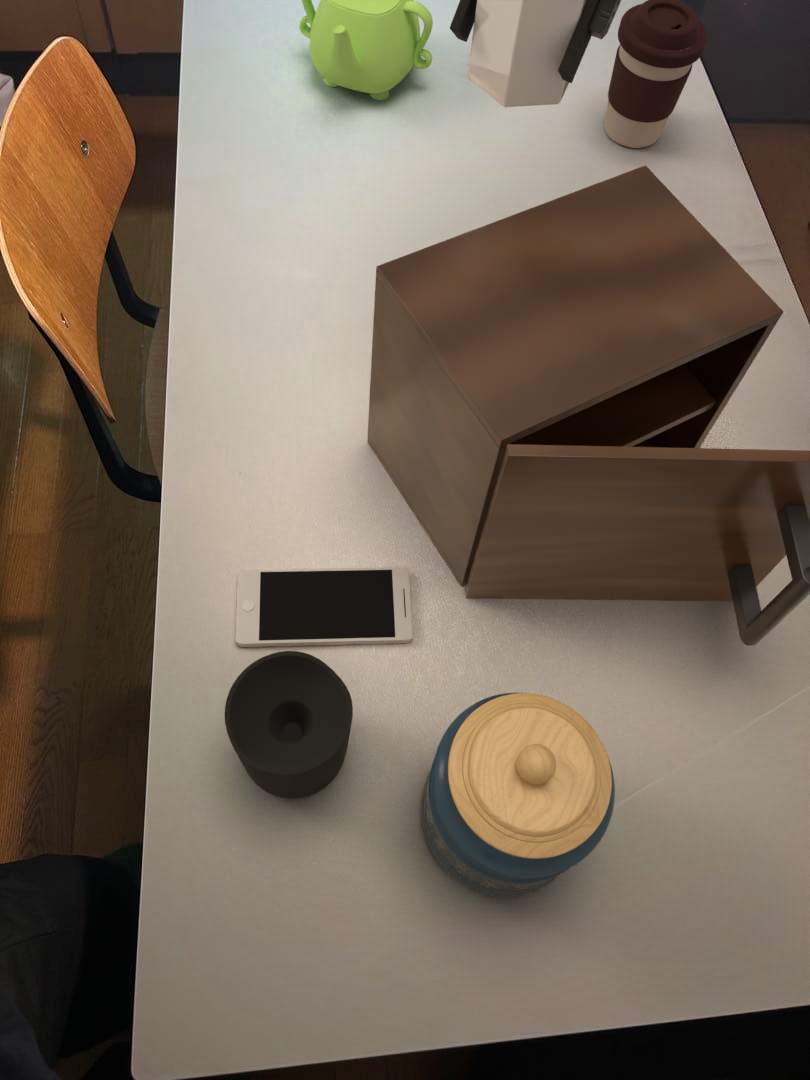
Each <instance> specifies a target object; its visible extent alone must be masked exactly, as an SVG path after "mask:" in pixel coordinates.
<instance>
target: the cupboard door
mask: <svg viewBox="0 0 810 1080" xmlns="http://www.w3.org/2000/svg"><path fill="white" fill-rule="evenodd" d="M785 557H786V559H787V563H788V568H789V572H790V576H791V581H789V583H787V585H786V586H785V587H784V588H782V589H781V590H780V592H778V593H777V595H775V596H774V597H773V599H772V600H770V602H769V603H768V604H767V605H766V606H764V607H763V608H761V607H762V606H761V603H760V599H759V594H758V589H757V587H758V586H759V585H760V584H761V583H762V582H763V581H764V580H765V578H766V577H767V576H768V575H769V574H770V573H771V572H772V571H773V570H774V569H775V568H776V567H777V566H778V565H779V564H780V562H781V561H782V560H783V559H784V558H785ZM464 590H465V599H515V600H516V599H519V600H520V599H523V600H524V599H525V600H526V599H527V600H538V599H539V600H611V601H612V600H620V601H622V600H623V601H625V600H626V601H629V600H630V601H710V602H711V601H718V602H719V601H721V602H722V601H724V602H726V601H727V602H732V604H733V610H734V614H735V619H736V625H737V630H738V634H739V635H738V636H739V638H740V641H741V643H743V644H744V645H746V646H749V647H754V646H757V644H758V643H759V642H761V641H762V640H763V639H764V638H765V637H766V636H767V635H768V634H769V633H770V632H771V631H773V629H775V627H777V626H778V625H779V624H780V623H781V622H782V621H783V620H784V619H785V618H786V617H787V616H788V615H789V614H791V612H793V611H794V610H796V608H798V606H799V605H800V604H801V603H802V602H804V600H806V598H808V597H809V596H810V450H807V449H805V450H803V449H800V450H799V449H757V448H755V449H754V448H712V447H710V448H709V447H700V448H666V447H619V446H572V445H525V444H507V446H506V449H505V453H504V456H503V460H502V463H501V467H500V470H499V474H498V477H497V481H496V484H495V488H494V491H493V494H492V498H491V501H490V505H489V508H488V512H487V515H486V519H485V522H484V526H483V529H482V533H481V536H480V540H479V543H478V547H477V550H476V553H475V557H474V560H473V564H472V567H471V571H470V574H469V578H468V581H467V584H466V585H465V589H464Z"/></svg>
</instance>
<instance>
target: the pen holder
mask: <svg viewBox="0 0 810 1080" xmlns="http://www.w3.org/2000/svg"><path fill="white" fill-rule="evenodd" d="M353 709H354V706H353V700H352V697H351V693H350V691H349V689H348V687H347V685H346V684H345V682H344V681H343V679H342V678H341V677H340V676H339V675H338V673H337V672H335V671H334V670H333V669H332V668H331V667H330V666H329V665H328V664H326V663H325V662H324V661H323V660H321V659H320V658H318V657H316V656H314V655H313V654H310V653H307V652H302V651H297V650H284V651H277V652H273V653H270V654H267V655H265V656H262V657H260V658H258V659H257V660H254V661H253V662H252V663H250V664H249V665H248V666H247V667H245V669H244V670H243V671H241V672H240V674H239V675H238V676H237V677H236V679H235V681H233V683H232V686H231V687H230V689H229V691H228V694H227V697H226V701H225V705H224V724H225V725H224V726H225V730H226V733H227V735H228V739H229V741H230V743H231V745H232V747H233V749H234V751H235V754H236V755H237V757H238V759H239V761H240V762H241V764H242V766H243V768H244V769H245V771H246V773H247V774H248V776H249V777H250V778H251V780H252V781H253V782H254V783H255V784H256V785H257V786H258V787H259V788H260V789H261V790H263V791H265V793H268V794H270V795H273V796H275V797H279V798H284V799H299V798H300V799H301V798H305V797H309V796H311V795H314V794H316V793H318V792H320V791H322V790H323V789H324V788H326V787H327V786H328V785H329V784H330V783H332V781H333V780H334V779H335V778H336V776H337V775H338V774H339V772H340V770H341V769H342V767H343V764H344V762H345V758H346V754H347V751H348V747H349V741H350V735H351V729H352V723H353V714H354V710H353Z"/></svg>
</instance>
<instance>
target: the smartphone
mask: <svg viewBox="0 0 810 1080" xmlns="http://www.w3.org/2000/svg"><path fill="white" fill-rule="evenodd" d="M410 583H411V582H410V570H409V568H407V567H404V566H393V567H392V566H391V567H390V566H389V567H337V568H335V567H334V568H333V567H331V568H330V567H329V568H328V567H327V568H282V569H281V568H279V569H278V568H277V569H273V568H272V569H242V570H239V571H238V572H237V584H236V585H237V587H236V614H235V615H236V616H235V644H236V646H238V647H240V648H260V647H263V648H264V647H265V648H266V647H302V646H340V645H341V646H342V645H343V646H344V645H345V646H346V645H347V646H348V645H386V644H408V643H411V642H412V641H413V637H414V635H413V634H414V633H413V615H412V601H411V600H412V599H411V584H410Z"/></svg>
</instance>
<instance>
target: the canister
mask: <svg viewBox="0 0 810 1080" xmlns="http://www.w3.org/2000/svg"><path fill="white" fill-rule="evenodd" d="M615 786H616V785H615V777H614V771H613V768H612V764H611V761H610V758H609V755H608V753H607V750H606V748H605V746H604V743H603V742H602V740H601V738H600V736H599V735H598V733H597V731H595V728H593V726H592V725H591V724H590V723H589V722H588V721H587V719H585V718H584V717H583V716H582V715H581V714H580V713H579V712H578V711H576V710H575V709H574V708H572V707H571V706H569V705H568V704H566V703H564V702H562V701H559V700H557V699H555V698H553V697H549V696H547V695H543V694H537V693H529V692H506V693H500V694H499V693H498V694H495V695H492V696H488V697H485V698H483V699H481V700H478V701H476V702H475V703H473V704H471V705H470V706H468V707H467V708H465V709H464V710H463V711H462V712H461V713H459V715H457V717H455V719H454V720H452V722H451V723H450V725H449V726H448V727H447V728H446V730H445V731H444V733H443V735H442V737H441V739H440V741H439V744H438V746H437V747H436V751H435V754H434V758H433V760H432V763H431V767H430V770H429V773H428V774H427V777H426V779H425V782H424V786H423V790H422V793H421V800H420V818H421V820H420V821H421V825H422V830H423V834H424V837H425V840H426V842H427V845H428V847H429V849H430V851H431V853H432V855H433V857H434V858H435V860H436V861H437V862H438V864H439V865H440V866H441V867H442V869H443V870H444V871H445V872H446V873H447V874H448V875H449V876H451V878H452V879H454V880H455V881H457V882H458V883H460V884H461V885H463V886H464V887H466V888H468V889H469V890H473V891H474V892H477V893H480V894H483V895H487V896H490V897H496V898H514V897H521V896H525V895H529V894H532V893H534V892H537V891H540V890H542V889H543V888H545V887H546V886H548V885H550V884H551V883H553V882H554V881H555V880H557V878H559V877H560V876H561V875H562V874H564V873H566V872H567V871H569V870H570V869H572V868H573V867H574V866H577V865H578V864H579V863H580V862H582V861H583V860H584V859H586V858H587V857H588V856H589V855H590V854H591V853H592V852H593V851H594V850H595V849H596V847H597V846H598V845H599V843H600V842H601V841H602V839H603V837H604V836H605V834H606V832H607V830H608V828H609V825H610V823H611V820H612V817H613V811H614V807H615V797H616V787H615Z"/></svg>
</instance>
